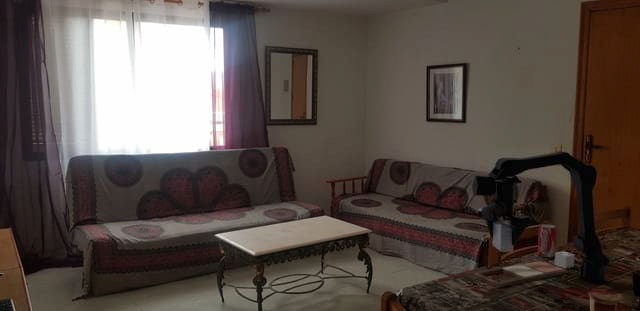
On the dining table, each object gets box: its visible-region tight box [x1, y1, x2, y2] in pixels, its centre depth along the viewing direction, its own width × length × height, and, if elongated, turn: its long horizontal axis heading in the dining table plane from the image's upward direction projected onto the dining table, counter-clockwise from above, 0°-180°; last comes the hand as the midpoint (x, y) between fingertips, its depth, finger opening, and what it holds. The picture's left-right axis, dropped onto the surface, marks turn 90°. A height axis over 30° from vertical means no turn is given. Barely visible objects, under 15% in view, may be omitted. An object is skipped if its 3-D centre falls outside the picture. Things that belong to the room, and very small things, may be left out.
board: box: [470, 260, 569, 289], centre depth 169 cm, size 12×33×1 cm, turn 116°
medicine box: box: [492, 220, 515, 253], centre depth 163 cm, size 8×4×9 cm, turn 179°
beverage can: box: [537, 223, 558, 258], centre depth 189 cm, size 6×6×12 cm
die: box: [554, 250, 575, 269], centre depth 178 cm, size 4×4×5 cm
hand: (502, 241), depth 164 cm, fingers closed on medicine box, 9 cm apart
